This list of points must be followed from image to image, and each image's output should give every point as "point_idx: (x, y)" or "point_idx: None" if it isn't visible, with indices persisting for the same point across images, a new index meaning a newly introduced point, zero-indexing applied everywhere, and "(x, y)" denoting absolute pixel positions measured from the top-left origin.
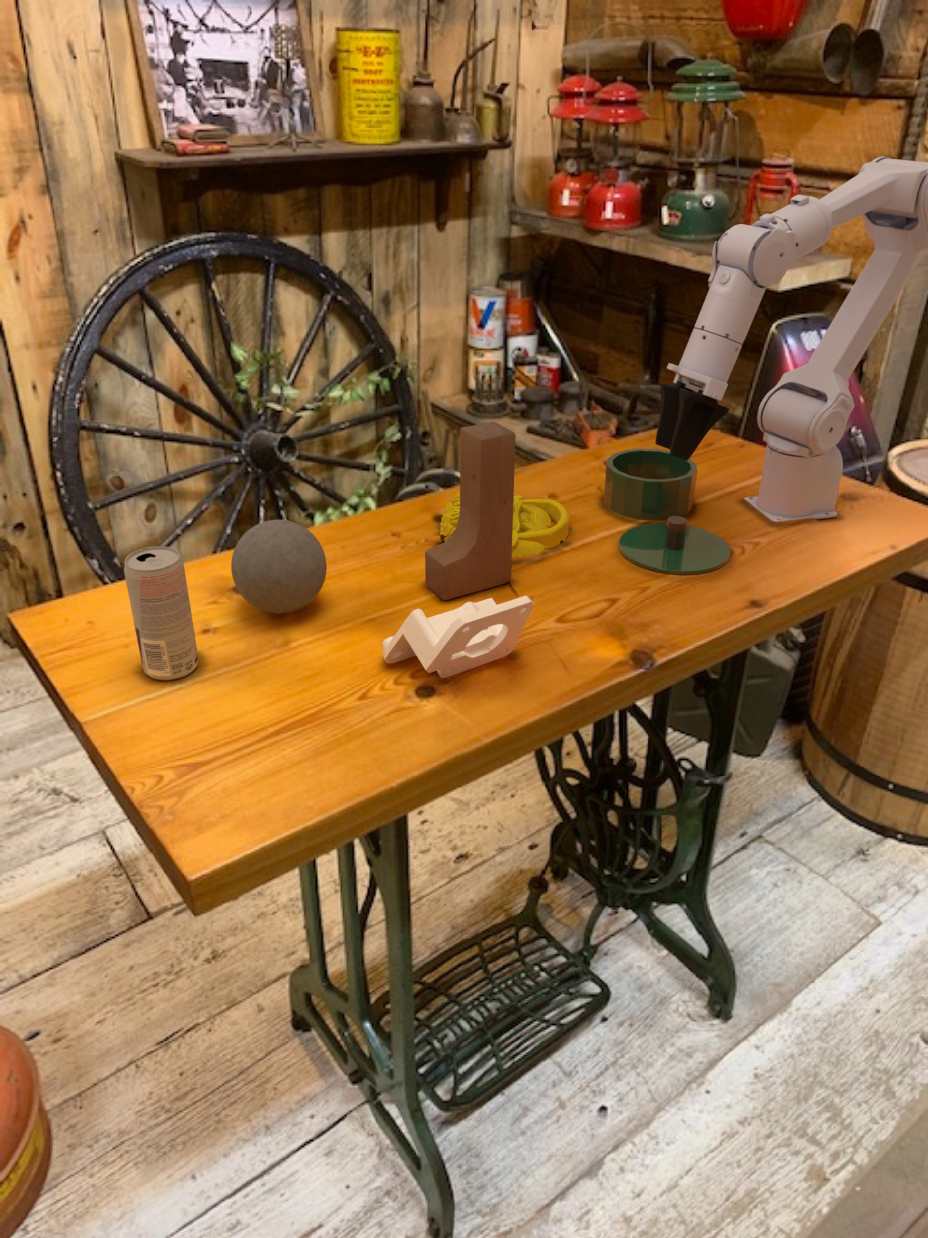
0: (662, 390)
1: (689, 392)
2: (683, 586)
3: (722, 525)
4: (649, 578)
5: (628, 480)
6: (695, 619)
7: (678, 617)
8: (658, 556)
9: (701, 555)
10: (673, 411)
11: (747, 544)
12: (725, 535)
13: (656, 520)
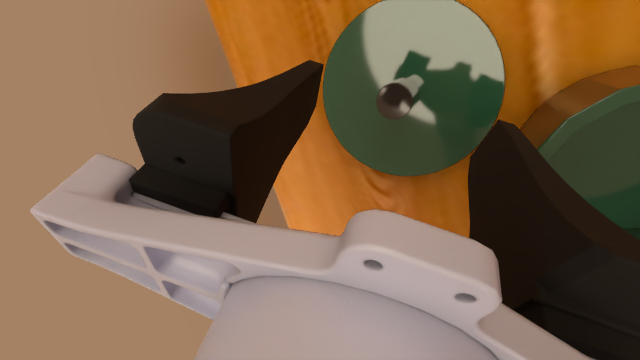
0: (623, 244)
1: (135, 118)
2: (316, 53)
3: (459, 217)
4: (350, 13)
5: (610, 91)
6: (244, 23)
7: (251, 3)
8: (380, 49)
9: (360, 115)
10: (508, 213)
11: (390, 205)
12: (427, 199)
13: (521, 129)
